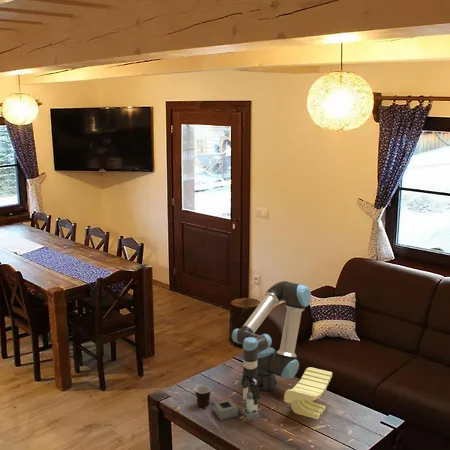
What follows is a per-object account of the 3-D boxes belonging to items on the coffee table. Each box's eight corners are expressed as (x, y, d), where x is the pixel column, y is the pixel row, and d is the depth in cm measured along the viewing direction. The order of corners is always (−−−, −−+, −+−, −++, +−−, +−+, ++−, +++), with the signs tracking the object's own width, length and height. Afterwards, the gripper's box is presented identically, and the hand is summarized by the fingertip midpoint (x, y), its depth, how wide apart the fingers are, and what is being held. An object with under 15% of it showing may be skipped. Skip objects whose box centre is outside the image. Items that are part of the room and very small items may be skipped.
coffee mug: (208, 410, 312) (208, 394, 310) (193, 409, 314) (193, 392, 312) (213, 399, 323) (213, 383, 321) (198, 398, 325) (198, 382, 323)
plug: (251, 411, 309) (252, 391, 306) (255, 415, 305) (255, 395, 303) (245, 413, 307) (245, 393, 305) (248, 416, 304) (248, 396, 301)
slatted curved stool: (304, 394, 329) (305, 365, 325) (331, 401, 321) (332, 372, 317) (283, 419, 303) (284, 388, 299) (312, 427, 295) (312, 396, 292)
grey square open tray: (253, 410, 312) (253, 405, 311) (260, 418, 304) (260, 412, 304) (240, 413, 309) (240, 408, 308) (246, 421, 301) (246, 416, 301)
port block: (230, 408, 314) (230, 398, 313) (237, 417, 305) (237, 407, 303) (213, 412, 310) (213, 402, 309) (220, 421, 301) (220, 411, 300)
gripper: (235, 358, 309) (235, 395, 314) (253, 377, 288) (253, 416, 293) (247, 356, 312) (247, 392, 317) (266, 374, 291) (266, 413, 296)
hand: (250, 404), depth 305 cm, fingers open, 11 cm apart
